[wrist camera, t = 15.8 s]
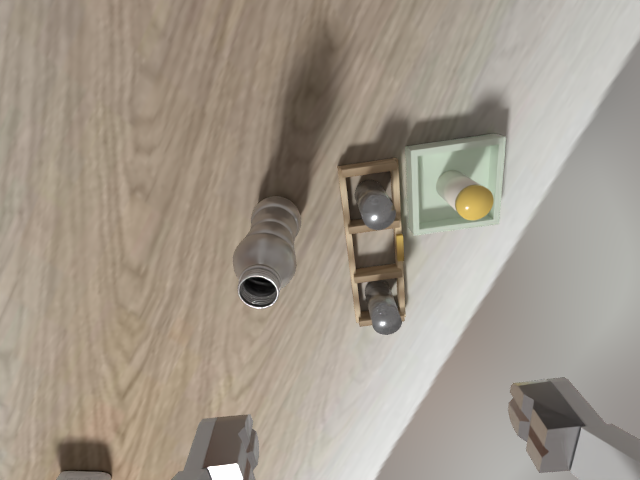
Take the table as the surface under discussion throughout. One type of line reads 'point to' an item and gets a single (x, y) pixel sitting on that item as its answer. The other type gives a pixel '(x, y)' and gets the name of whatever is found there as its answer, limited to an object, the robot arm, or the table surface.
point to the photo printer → (83, 475)
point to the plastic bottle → (267, 252)
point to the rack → (359, 227)
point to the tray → (439, 157)
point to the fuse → (464, 195)
